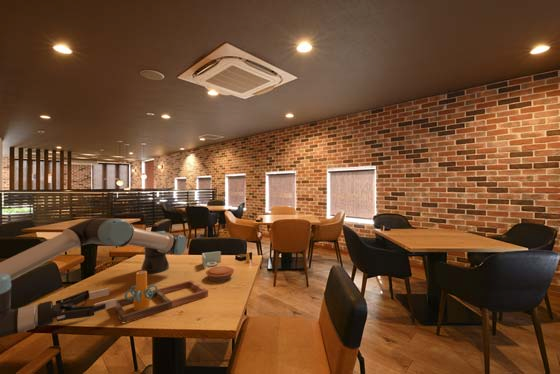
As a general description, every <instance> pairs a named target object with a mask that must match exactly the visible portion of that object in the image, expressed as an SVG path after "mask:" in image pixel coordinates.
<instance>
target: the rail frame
mask: <svg viewBox="0 0 560 374" xmlns="http://www.w3.org/2000/svg"><path fill="white" fill-rule="evenodd" d="M189 287H191V289H193V290H194V291H196V292H194V293H191V294H187V295H183V296H182V297H179V298H174V299H170V298H168V297H167V296H166V294H168V293H171V292H176V291H179V290H183V289H186V288H189ZM152 291H153V292H154V291H155V289H152ZM149 293H151V292H150V291H149ZM148 295H149V294H148ZM149 296H151V295H149ZM208 296H209V290H208V289H207V288H205V287H204V286H201V285H200V284H198V283H197V282H195V281H193V280H192V279H191V280H187V281H182V282H179V283H176V284H175V283H174V284H172V285H168V286H165V287H161V288H157V291H156V293H155V294H153V297H152V298H155V297H156V299H158V300H159V301H160V302H161V303H158V304H156V305H152V306H149V307H148V308H145V309H142V310H139V311H135V310H134V311H133V312H129V313H126V312H125V310H124V308H123V306H126V304H127V305H130V304H133V300H134V299H132V300H127V299H125V297H123V298H120V299H116V306H115V307H114V308H113V309H115V310H114V312H115V313H116V312H117V313H116V314H118V315H117V316H119V317H120V318H119V317H118V318H119V320H120V319H121V320H120V322H121V321H122V322H127V321H130V322H132V321H131V320H133V321H135V320H134V319H136V320H139V319H142V318H144V317H148V316H151V315H154V314H157V313H161V312H162V311H166V310H170V309H171V308H175V307H178V306H181V305H185V304H187V303H190V302H194V301H197V300H200V299H203V298H205V297H208ZM127 297H128V298H132V297H133V295H131V296H130V295H129V296H127ZM141 317H142V318H141ZM138 318H139V319H138ZM122 322H121V323H122ZM127 323H128V322H127Z"/></svg>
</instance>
